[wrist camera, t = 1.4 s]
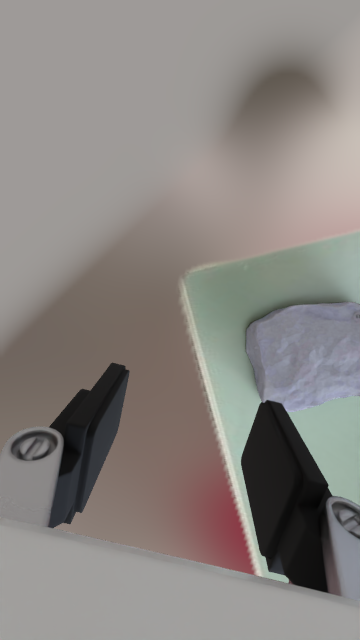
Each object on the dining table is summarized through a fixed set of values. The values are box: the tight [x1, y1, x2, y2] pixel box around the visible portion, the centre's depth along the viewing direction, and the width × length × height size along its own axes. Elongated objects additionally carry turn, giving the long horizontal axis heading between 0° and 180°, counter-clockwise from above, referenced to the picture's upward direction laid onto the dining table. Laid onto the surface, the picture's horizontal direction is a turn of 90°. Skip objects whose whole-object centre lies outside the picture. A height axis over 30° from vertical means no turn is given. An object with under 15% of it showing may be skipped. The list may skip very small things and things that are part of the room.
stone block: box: [246, 302, 360, 412], centre depth 26 cm, size 12×5×10 cm
